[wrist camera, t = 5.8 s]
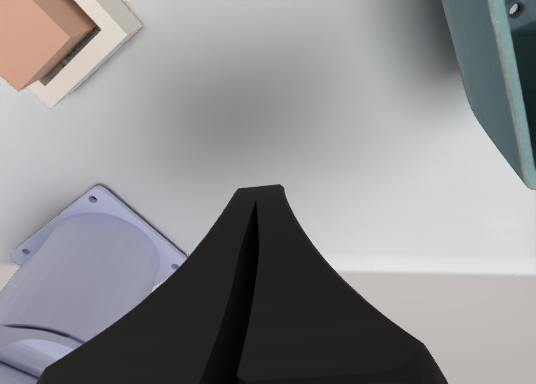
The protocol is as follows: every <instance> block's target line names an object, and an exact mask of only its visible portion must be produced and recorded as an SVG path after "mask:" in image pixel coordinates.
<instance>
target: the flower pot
mask: <svg viewBox="0 0 536 384" xmlns="http://www.w3.org/2000/svg"><path fill="white" fill-rule="evenodd" d="M441 1H442V5H443V8H444V12H445V16H446V19H447V23H448V27H449V30H450V34H451V38H452V42H453V46H454V50H455V54H456V57H457V61H458V65H459V69H460V73H461V77H462V81H463V85H464V89H465V93H466V96H467V99H468V102H469V104H470V106H471V109H472V111H473V113H474V115H475V117H476V118H477V120H478V121H479V123H480V124H481V126H482V127H483V129H484V130H485V132H486V133H487V134H488V136H489V137H490V139H491V140H492V141H493V143H494V144H495V146H496V147H497V148H498V150H499V151H500V152H501V154H502V155H503V156H504V158H505V159H506V160H507V162H508V163H509V164H510V166H511V167H512V168H513V169H514V171H515V172H516V173H517V175H518V176H519V177H520V178H521V180H522V181H523V182H524V184H525V185H526V186H527V187H528V188H529V189H531V190H536V0H441ZM516 3H518V4H520V9H519V11H518V12H517V13H516V14H514V15H510V14H509V11H510V9H511V7H512V6H513V5H514V4H516Z"/></svg>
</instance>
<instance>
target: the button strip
mask: <svg viewBox="0 0 536 384" xmlns="http://www.w3.org/2000/svg"><path fill="white" fill-rule="evenodd" d="M74 1H75V2H76V3H77V4H78V5H79V6H80V7H81V8H82V9H83V10H84V11H85V12H86V13H87V15H88V16H89V17H90V18H91V19H92V20H93V21H94V22H95V23H96V24H97V25H98V26H99V27H100V29H101V31H100V32H99V33H98V34H97V35H96V36H95V37H94V38H93V39H92V40H91V41H90V42H89V43H88V44H87V45H86V46H85V47H84V48H83V49H82V50H81V51H80V52H79V53H78V54H77V55H76V56H75V57H74V58H73V59H72V60H71V61H70V62H69V63H68V64H67V65H66V66H65V67H63V66H62V65H61V64H59V65H58V66H57V67H56V68H55V69H54V70H53V71H52V72H51V73H50V74H48V75H46V76H45V77H43V78H41V79H39V80H38V81H36V82H34V83H32V84H31V85H29V86H27V88H28V89H29V90H31V91H32V92H33V93H34V94H35V95H36V96H37V97H38V98H39V99H41V100H42V101H43V102H44V103H45V104H46V105H47V106H48V107H50V108H52V107H54V106H55V105H56V104H58V103H59V102H61V101H62V100H63V99H65V98H66V97H67V96H69V95H70V94H71V93H73V92H74V91H75V90H76V89H77V88H78V87H79V86H80V85H81V84H82V83H83V82H84V81H85V80H86V79H88V78H89V77H90V76H91V75H92V74H93V73H94V72H95V71H96V70H97V69H98V68H99V67H100V66H101V65H102V64H103V63H104V62H105V61H106V60H107V59H109V58H110V57H111V56H112V55H113V54H114V53H115V52H116V51H117V50H118V49H119V48H120V47H121V46H122V45H123V44H124V43H125V42H126V41H127V40H128V39H130V38H131V37H132V36H133V35H134V34H135V33H136V32H137V31H138V30H139V29H140V28H141V27H142V26H143V24H142V23H141V22H140V21H139V20H138V19H137V18H136V16H135V15H134V14H133V13H132V12H131V11H130V10H129V8H128V7H127V6H126V5H125V4H124V3H123V1H122V0H74Z"/></svg>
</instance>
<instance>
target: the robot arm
mask: <svg viewBox="0 0 536 384" xmlns="http://www.w3.org/2000/svg"><path fill="white" fill-rule="evenodd" d="M91 196H94V197H96V199H97V200H96V199H93V198H92V197H91ZM10 258H11V260H13V261H14V262H15V263H17V264H18V265H20V266H21V267H20V268H19V269H18V270H17V272H16V273H15V274H14V275H13V277H12V278H11V279H10V281H9V282H8V283H7V284H6V286H5V287H4V288H3V289H2V291H1V292H0V384H448V382H447V381H446V379H445V377H444V375H443V374H442V372H441V370H440V368H439V367H438V365H437V363H436V362H435V360H434V359H433V357H432V355H431V354H430V352H429V351H428V349H427V348H426V346H425V345H424V344H423V343H422V342H420V341H419V340H417V339H416V338H415V337H413V336H412V335H410V334H409V333H407V332H406V331H404V330H403V329H402V328H400V327H399V326H398V325H396V324H395V323H393V322H392V321H391V320H390V319H388V318H387V317H386V316H384V315H383V314H382V313H381V312H379V311H378V310H377V309H375V308H374V307H373V306H372V305H371V304H370V303H368V302H367V301H366V300H365V299H364V298H363V297H362V296H361V295H360V294H358V293H357V292H356V291H355V290H354V289H353V288H352V287H351V286H350V285H349V284H348V283H347V282H345V281H344V280H343V279H342V278H341V276H339V274H338V273H337V272H336V271H335V270H334V269H333V268H332V267H331V266H330V265H329V263H328V262H327V261H326V260H325V259H324V258H323V257H322V255H321V254H320V253H319V252H318V250H317V249H316V248H315V246H314V245H313V244H312V242H311V241H310V239H309V238H308V237H307V235H306V234H305V232H304V231H303V229H302V228H301V226H300V224H299V222H298V221H297V219H296V217H295V216H294V214H293V212H292V210H291V208H290V206H289V203H288V201H287V199H286V196H285V192H284V187H283V186H281V185H280V184H278V185H268V186H259V187H249V188H239V189H238V190H237V191H236V192H235V193H234V195H233V197H232V198H231V200H230V201H229V203H228V205H227V206H226V208H225V209H224V211H223V212H222V214H221V215H220V217H219V218H218V220H217V221H216V222H215V224H214V225H213V227H212V228H211V229H210V231H209V232H208V234H207V235H206V236H205V237H204V239H203V240H202V241H201V242H200V244H199V245H198V246H197V247H196V249H195V250H194V251H193V252H192V253H191V255H190V256H189V257H188V258H187V257H186V256H185V255H184V254H182V253H181V252H180V251H179V250H178V249H177V248H175V247H174V246H173V245H172V244H171V243H169V242H168V241H167V240H166V239H165V238H164V237H162V236H161V235H160V234H159V233H158V232H157V231H155V230H154V229H153V228H152V227H151V226H149V225H148V224H147V223H146V222H145V221H144V220H142V219H141V218H140V217H139V216H138V215H136V214H135V213H134V212H133V211H132V210H131V209H129V208H128V207H127V206H126V205H125V204H124V203H122V202H121V201H120V200H119V199H118V198H116V197H115V196H114V195H113V194H112V193H111V192H109V191H108V190H107V189H106V188H104V187H103V186H94V187H93V188H91V189H90V190H89V191H88V192H86V193H85V194H84V195H83V196H81V197H80V198H79V199H78V200H76V201H75V202H74V203H73V204H71V205H70V206H69V207H68V208H66V209H65V210H64V211H62V212H61V213H60V214H59V215H57V216H56V217H55V218H54V219H52V220H51V221H50V222H49V223H47V224H46V225H45V226H44V227H42V228H41V229H40V230H39V231H37V232H36V233H35V234H34V235H32V236H31V237H30V238H29V239H27V240H26V241H25V242H23V243H22V244H21V245H20V246H18V247H17V248H16V249H15V250H13V252H12V253H11V254H10ZM174 264H177V265H174ZM168 277H169V278H168ZM167 278H168V279H167ZM165 279H167V280H166V281H165V282H164V283H163V284H161V285H160V286H159V287H158V288H157V289H156V290H154V291H153V292H152V293H151V291H152V288H153V286H155V285H157V284H158V283H160V282H161V281H163V280H165Z"/></svg>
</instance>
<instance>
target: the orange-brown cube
mask: <svg viewBox="0 0 536 384" xmlns="http://www.w3.org/2000/svg"><path fill="white" fill-rule="evenodd" d="M96 26H97V25H96V24H95V23H94V22H93V21H92V20H91V19H90V18H89V17H88V16H87V15H86V14H85V13H84V11H83V10H82V9H81V8H80V7H79V6H78V5H77V4H76V3H75V2H74V1H73V0H0V76H1V77H3V78H4V79H5V80H6V81H7V82H8V83H9V84H11V85H12V86H13V87H14V88H15V89H16V90H17V91H20V90H22V89H24V88H25V87H27V86H29V85H31V84H32V83H34V82H36V81H38V80H39V79H41V78H43V77H45V76H46V75H48V74H50V73H51V72H52V71H53V70H54V69H55V68H56V67H57V66H58V65H59V64H60V63H61V62H62V61H63V60H64V59H65V58H66V57H67V56H68V55H69V54H70V53H71V52H72V51H73V50H74V49H75V48H76V46H77V45H78V44H79V43H80V42H81V41H82V40H83V39H84V38H85V37H86V36H87V35H88V34H89V33H90V32H91V31H92V30H93V29H94V28H95V27H96Z"/></svg>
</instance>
